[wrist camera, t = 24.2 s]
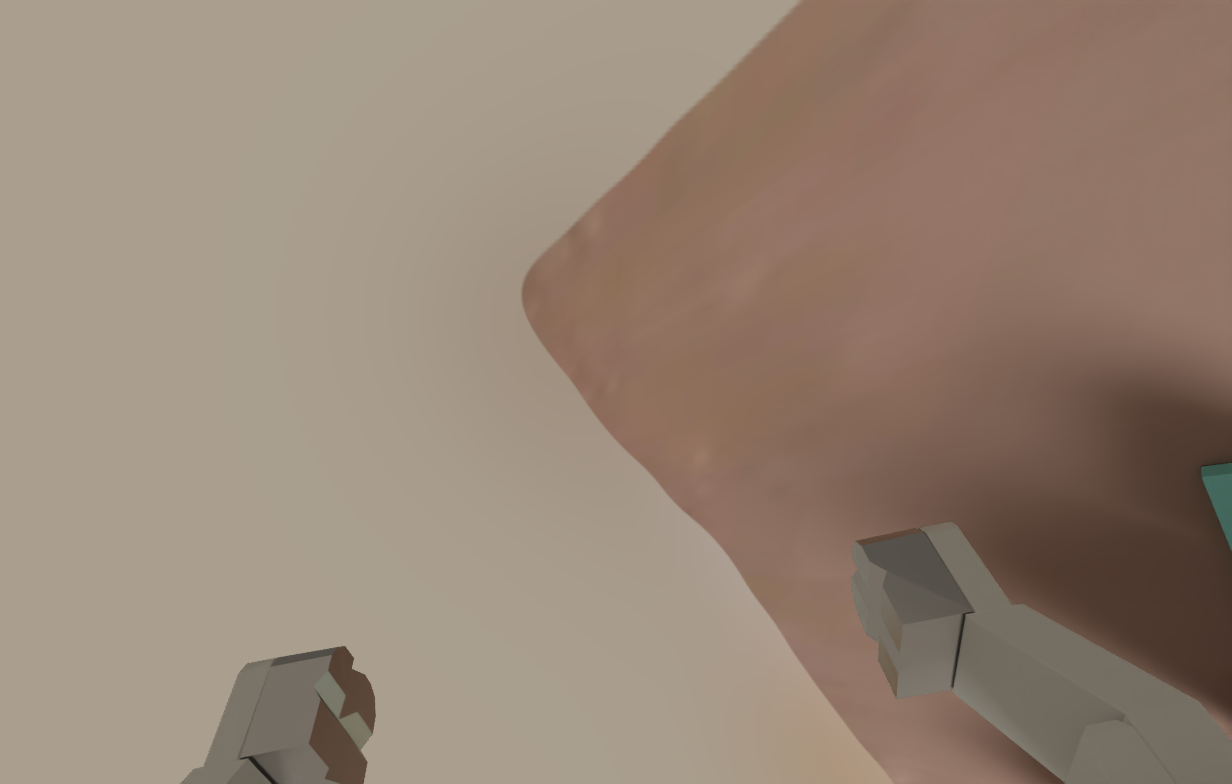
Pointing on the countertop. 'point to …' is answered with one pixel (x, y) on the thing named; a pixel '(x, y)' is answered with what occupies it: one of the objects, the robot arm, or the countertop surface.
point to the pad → (1220, 494)
